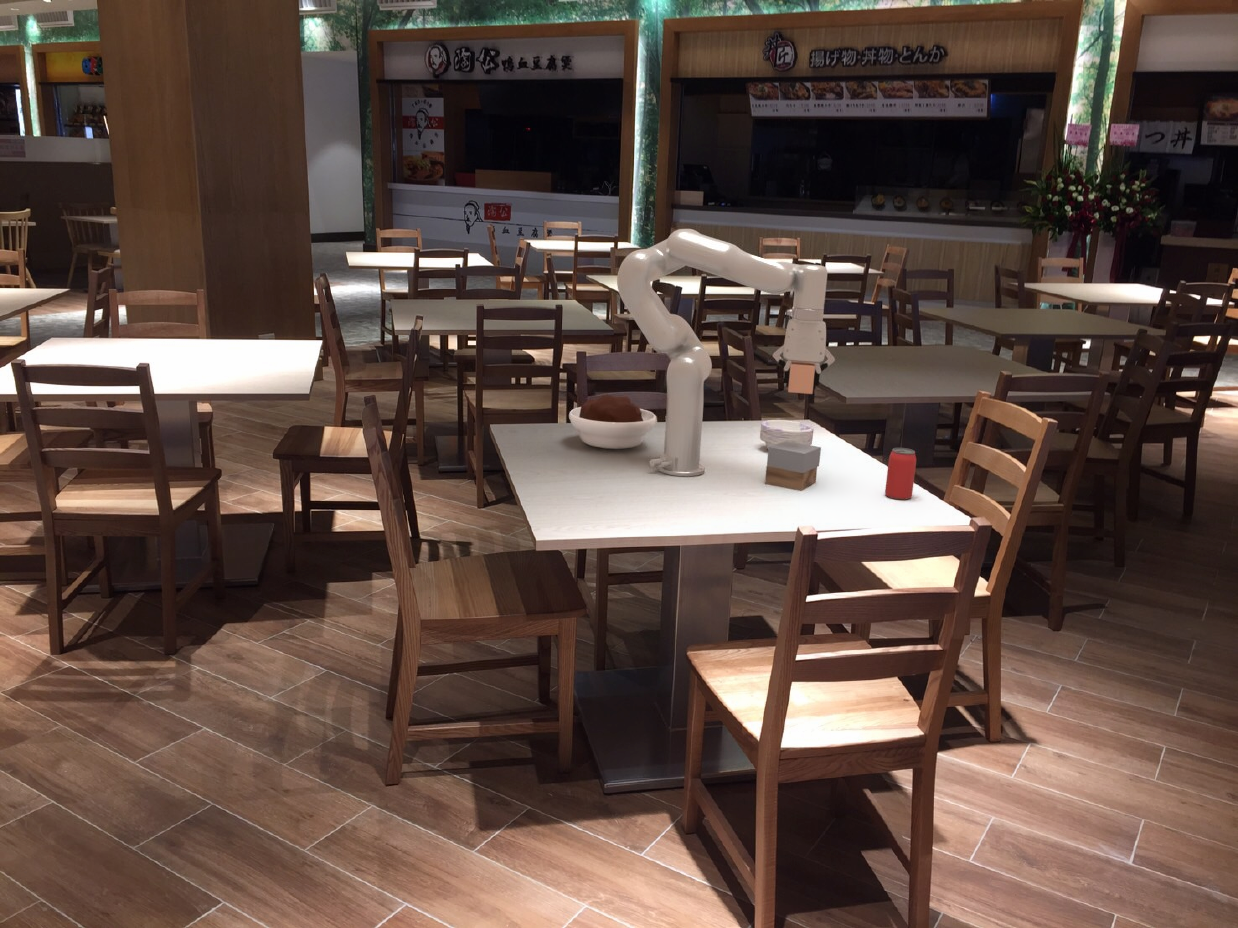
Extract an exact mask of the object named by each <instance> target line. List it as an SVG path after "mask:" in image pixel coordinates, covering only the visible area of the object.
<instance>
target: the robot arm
mask: <svg viewBox="0 0 1238 928" xmlns="http://www.w3.org/2000/svg"><path fill="white" fill-rule="evenodd" d="M686 266H687V267H689V268H693V269H697V270H700V271H702V272H706V273H708V274H712V275H714V276H718V277H721V278H723V279H725V280H729V281H731V282H735V283H738V284H740V285H743V286H746V287H749V288H752V289H755V290H758V291H761V292H764V293H766V294H767V293H768V294H771V295H781V294H784V293H786V292H794V294H793V295H794V296H793V302H792V303H793V306H792V308H791V309H786V315H787V316H791V319H788V322H787V325H786V330H785V334H784V335H785V336H784V337H785V338H784V342H783V345H782V346H780V347H779V348H778V349H777V350H776V351H775V352H773V354H772V358H774V359H775V361H776V362H777V363H778V365H780V366H781V368H782V369H783V371H784V376H783V383H784V384H785V385H786V386H785V387H786V388H788V387H789V377H790V366H791V363H792V362H793V361H799V362H812V363H814V365H815V372H814V383H813V390H816V387H819V384H820V375H821V373H822V372H824V370H826V369H827V368H828V367H829V366H830V365H832V364H833V363H834V362H835V361H836V359H835V357H834V356H833V354H831V352H830V351H829V349H827V347H826V344H827V343H826V342H827V326H826V325H827V324H826V322H825V321H824V319H823V318H824V311H825V310H824V309H825V301H826V292H827V291H826V290H827V281H828V270H827V268H826V266H824V265H819V264H796V263H790V262H787V261H776V262H775V261H773V260H769V259H766V258H762V257H759V256H757V255H753V254H751V253H748V252H746V251H745V250H742V249H741V248H739V247H738V246H737V245H735V244H733V243H730V242H727V241H724V240H720V239H718V238H714V237H711V236H707V235H705V234H702V233H700V232H698V231H697V230H695V229H692V228H678V229H676V230H675V231H673V232H671V234H670V235H669V236H668V238H666V239H665V240H662V241H660V242H658V243H656V244H654V245H652V246H650V247H647V248H643V249H636V250H634V251H631V253H628V254H627V256H625V258H624V259H623V260H622V262H621V264H620V267H619V269H618V272H617V277H616V286H617V291H618V293H619V296H620V299H621V301H622V302H623V304H624V306H625V307H626V309H627V310H628V311H629V314H631V316H632V318H633V320H634V321H635V323H636V324H637V326H638V328H639V329H640V331H641V332H642V334H643V335H644V337H645V339H646V340H647V342H648V344H649V345H650V347H651V348H652V349H653V350H654V351H655V352H657V353H660V354H666V356H667V358H669V360H670V362H669V364H668V367H667V371H666V409H665V410H666V411H665V412H666V414H665V415H666V416H665V430H664V447H663V448H664V449H663V450H664V451H663V453H661V454H660V457H658V458H654V459H652V458H651V459H650V460H649V466H650V467H652V468H653V467H657V468H656V469H657V471H658V472H660V473H662V474H666V475H670V476H677V477H694V476H695V477H696V476H700V475H703V474H704V473H705V471H706V467H705V466H704V465H703V464H700V460H701V459H700V458H701V445H702V444H701V441H702V428H703V415H704V414H703V413H704V384H705V383H704V382H705V381H706V380H707V378H708V377H709V376H710V374H711V372H712V369H713V368H712V367H713V365H712V359H711V357H710V355H709V353H708V352H707V350H706V348H705V347H704V345H703V344H702V342H701V341H700V339H699V338H698V336H697V334H696V333H695V331H694V330H693V328H692V327H691V326H690V324H689V323H688V322H687V320H685V319H684V318H683V317H682V316H680V315H678V314H675V313H670V311H669V310H668V309H667V307H666V306H665V304H664V303H663V301H662V299H661V298H660V297H659V295H658V294H657V292H655V290H654V289H653V287H652V285H651V282H654V281H658V280H660V279H662V278H663V277H666V276H668V275H669V274H672V273H673V272H676V271H677V270H680V269H682V268H684V267H686ZM782 354H783V355H782ZM781 355H782V356H783V358H782V357H781ZM825 357H826V358H827V360H826V361H825V362H824V360H825ZM785 360H787V361H786V362H785ZM820 363H822V364H820Z"/></svg>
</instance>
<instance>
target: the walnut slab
mask: <svg viewBox="0 0 1238 928" xmlns="http://www.w3.org/2000/svg"><path fill="white" fill-rule="evenodd" d="M817 471H818V467H816V468H813V469H811V470H809V471H807V472H804V473H800V472H795V471H790V470H785V469H780V468H775V467H770V466H767V465H766V467H765V478H764V479H765V480H764V484H765V485H768V486H773V487H778V488H783V489H789V490H794V491H799V492H803V491H804V490H806V489H808V488H809V487H812V486H813V485H814V484H816V482H817Z"/></svg>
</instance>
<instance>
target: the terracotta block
mask: <svg viewBox="0 0 1238 928" xmlns="http://www.w3.org/2000/svg"><path fill="white" fill-rule="evenodd" d="M815 370H816V369H815V365H814V363H812V362H799V361H793V362H792V363H791V366H790V377H789V387H787V390H788V391H787V392H788V393H794V394H795V393H796V394H797V393H798V394H805V395H806V394H807V395H813V393H814V389H813V383H814V372H815Z"/></svg>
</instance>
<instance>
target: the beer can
mask: <svg viewBox="0 0 1238 928" xmlns="http://www.w3.org/2000/svg"><path fill="white" fill-rule="evenodd" d="M916 465H917V457H916V451H915V450H913V449H910V448H908V447H907V448H905V447H894V448H892V449H891V452H890V455H889V457H888V464H887V472H886V479H885V480H886V481H885V489H884V494H885V496H886V497H888V498H890V499H893V500H900V501H902V500H904V501H905V500H909V499H911V498H912V496H913V491H914V483H915V475H916V469H917V468H916V467H917V466H916Z"/></svg>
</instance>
